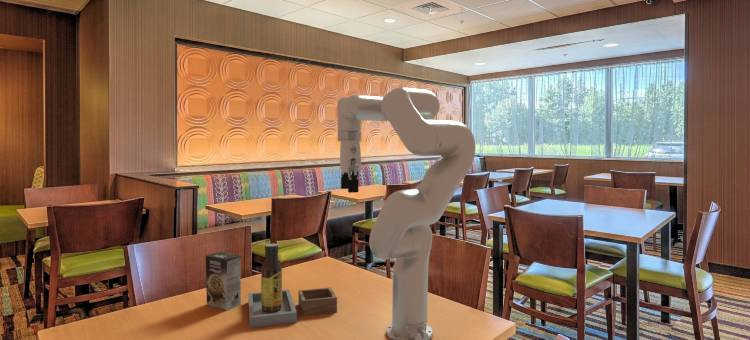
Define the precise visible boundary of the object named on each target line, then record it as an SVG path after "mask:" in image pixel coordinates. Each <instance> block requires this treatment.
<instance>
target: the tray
mask: <svg viewBox="0 0 750 340" xmlns="http://www.w3.org/2000/svg"><path fill="white" fill-rule="evenodd" d="M247 296H248V301H247V302H248V318H249V329H251V328H253V329H255V328H260V327H270V326H279V325H280V326H281V325H287V324H288V325H289V324H294V323H295V324H296V323H298V314H297V313H298V312H297V309H296V307H295V303H294V300H293V297H292V294H291V291H290V288H289V289H282V304H281V309H280V310H278V311H275V312H264V311H263V310H262V305H261V291H258V292H248V295H247Z"/></svg>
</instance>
